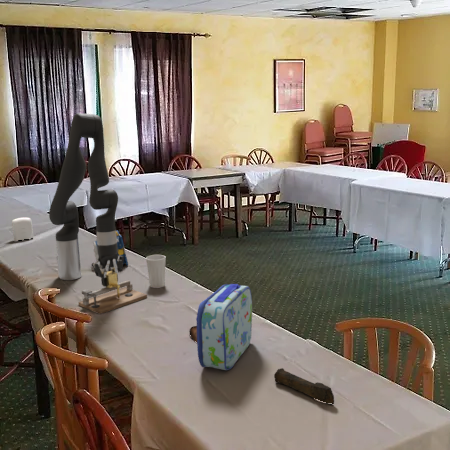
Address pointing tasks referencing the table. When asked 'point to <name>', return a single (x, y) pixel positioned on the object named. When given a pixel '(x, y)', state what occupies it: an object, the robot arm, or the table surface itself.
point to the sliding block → (112, 281)
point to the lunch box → (224, 326)
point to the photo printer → (22, 228)
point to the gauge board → (110, 298)
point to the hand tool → (305, 386)
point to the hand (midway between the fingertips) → (110, 284)
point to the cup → (156, 270)
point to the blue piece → (119, 247)
